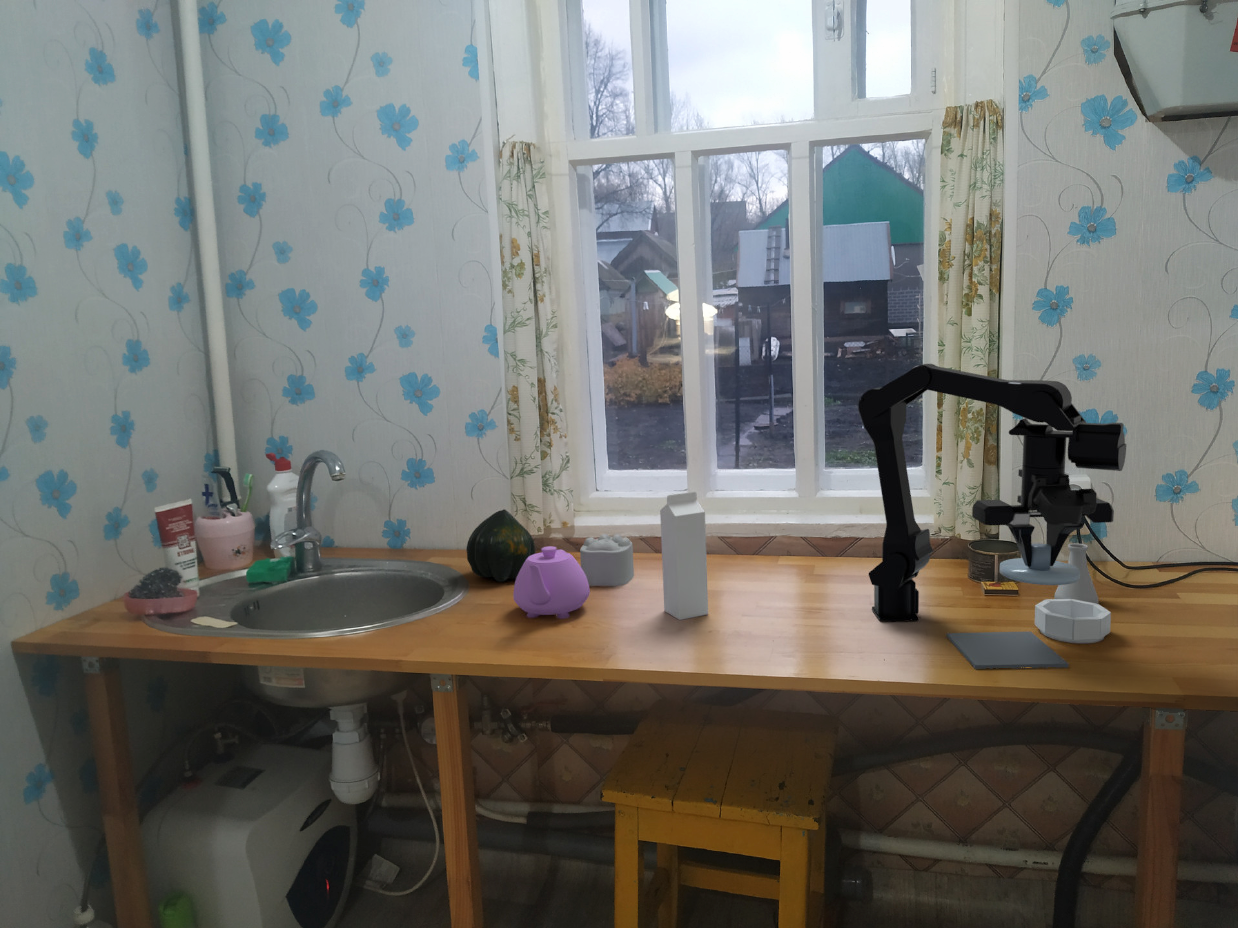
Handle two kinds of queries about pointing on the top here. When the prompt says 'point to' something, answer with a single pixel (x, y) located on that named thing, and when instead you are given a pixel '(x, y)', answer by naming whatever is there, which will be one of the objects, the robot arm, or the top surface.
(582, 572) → the teapot
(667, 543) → the milk
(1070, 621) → the bowl
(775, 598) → the top surface
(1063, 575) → the lid
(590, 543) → the grey lumpy-topped tub
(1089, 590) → the flask
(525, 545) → the squash
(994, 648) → the plate
